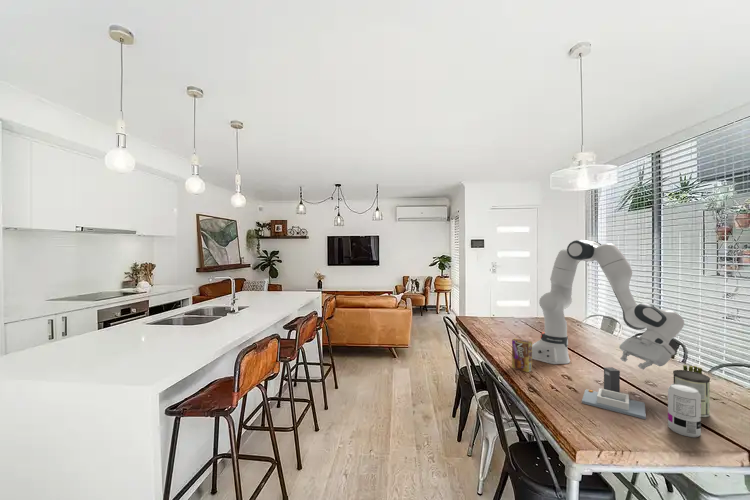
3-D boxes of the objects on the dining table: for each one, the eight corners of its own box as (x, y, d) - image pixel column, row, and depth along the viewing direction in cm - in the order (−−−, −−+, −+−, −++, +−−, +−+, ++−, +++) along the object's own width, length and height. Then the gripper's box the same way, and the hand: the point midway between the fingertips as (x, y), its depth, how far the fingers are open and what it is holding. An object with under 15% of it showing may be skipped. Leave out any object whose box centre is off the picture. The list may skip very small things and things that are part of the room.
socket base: (581, 403, 131) (581, 394, 131) (585, 391, 142) (585, 383, 142) (645, 419, 118) (645, 409, 118) (644, 405, 129) (644, 396, 129)
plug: (603, 389, 144) (603, 367, 144) (612, 389, 144) (612, 367, 144) (610, 393, 140) (610, 370, 140) (619, 393, 140) (619, 370, 140)
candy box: (532, 370, 166) (532, 341, 166) (528, 372, 163) (528, 342, 163) (515, 366, 173) (515, 337, 173) (511, 367, 170) (511, 339, 170)
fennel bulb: (681, 391, 142) (681, 364, 142) (688, 389, 144) (688, 363, 144) (698, 397, 137) (698, 368, 137) (705, 395, 139) (705, 367, 139)
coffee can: (667, 402, 132) (667, 368, 132) (699, 406, 128) (699, 371, 128) (681, 414, 122) (682, 377, 122) (716, 419, 119) (717, 381, 119)
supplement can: (661, 425, 114) (661, 383, 114) (682, 424, 115) (682, 382, 115) (685, 438, 106) (685, 393, 106) (707, 437, 107) (708, 392, 107)
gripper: (628, 330, 153) (608, 351, 152) (669, 343, 132) (646, 367, 132) (637, 340, 153) (617, 360, 153) (679, 354, 133) (656, 378, 132)
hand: (631, 364), depth 142 cm, fingers open, 8 cm apart
